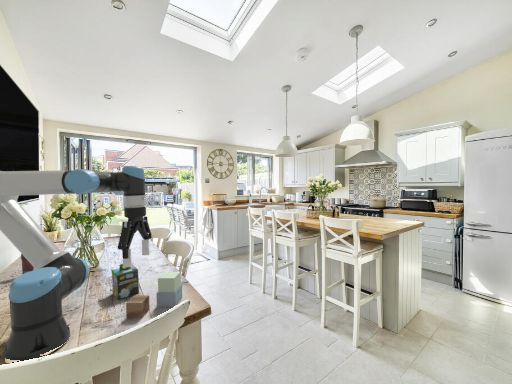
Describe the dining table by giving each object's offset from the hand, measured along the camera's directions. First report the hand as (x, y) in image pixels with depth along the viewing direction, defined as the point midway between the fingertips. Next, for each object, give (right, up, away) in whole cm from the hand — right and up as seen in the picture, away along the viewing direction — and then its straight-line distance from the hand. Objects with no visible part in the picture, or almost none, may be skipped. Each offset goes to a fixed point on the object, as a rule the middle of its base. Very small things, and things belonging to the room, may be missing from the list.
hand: (137, 260), depth 89 cm
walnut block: (0, -21, +1) cm, 21 cm away
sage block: (+9, -15, +9) cm, 20 cm away
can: (-82, -21, +39) cm, 93 cm away
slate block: (+9, -21, +10) cm, 25 cm away
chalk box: (-15, -21, +18) cm, 31 cm away
